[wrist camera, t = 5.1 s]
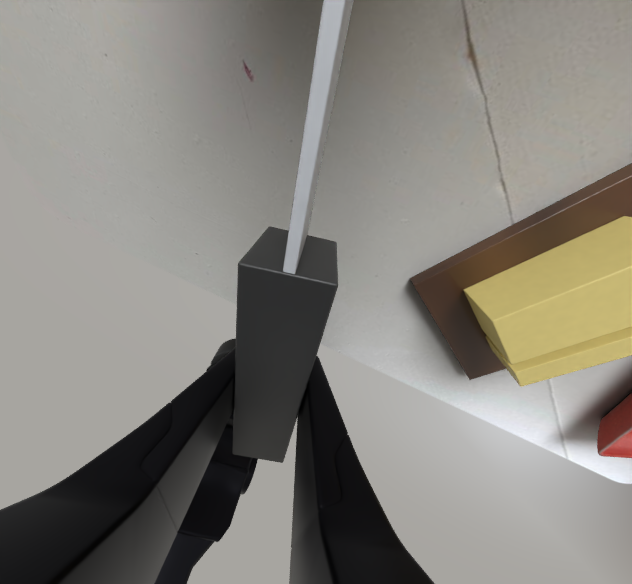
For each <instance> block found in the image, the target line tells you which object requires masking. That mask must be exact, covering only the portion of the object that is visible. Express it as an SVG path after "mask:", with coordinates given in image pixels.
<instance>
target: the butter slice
mask: <svg viewBox="0 0 632 584" xmlns="http://www.w3.org/2000/svg"><path fill="white" fill-rule="evenodd" d="M486 339H487V341H488V343H489V345H490V347H491V349H492V351H493V352H494V353H495V355H496V356H497V357H498V358H499V360H500V361H501V362H502V363H503V365H504V366H505V367H506V369H507V370H508V371H509V372H510V374H511V375H512V376H513V378H514V379H515V380H516V381H517V383H518V384H519V385H520V386H525V385H528V384H532V383H536V382H539V381H543V380H546V379H550V378H553V377H557V376H560V375H564V374H567V373H571V372H574V371H578V370H581V369H585V368H588V367H592V366H595V365H599V364H603V363H606V362H610V361H613V360H617V359H620V358H624V357H627V356H631V355H632V326H631V327H628V328H625V329H622V330H619V331H616V332H613V333H609V334H606V335H603V336H600V337H597V338H594V339H591V340H588V341H584V342H581V343H578V344H575V345H572V346H569V347H566V348H562V349H559V350H556V351H553V352H550V353H547V354H544V355H541V356H537V357H534V358H531V359H528V360H525V361H522V362H519V363H515V364H512V365H511V364H510V363H509V362H508V360H507V359H506V358H505V357H504V356H503V354H502V353H501V352H500V351H499V349H498V348H497V347H496V346H495V345H494V343H493V342H492V341H491V340H490V338H489V337H488V336H486Z"/></svg>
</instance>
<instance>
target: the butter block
mask: <svg viewBox="0 0 632 584" xmlns="http://www.w3.org/2000/svg"><path fill="white" fill-rule="evenodd" d="M464 293H465V295H466V297H467V299H468V301H469V303H470V305H471V307H472V309H473V312H474V314H475V316H476V318H477V320H478V322H479V324H480V326H481V328H482V330H483V331H484V332H485V334H486V335H487V336H488V337H489V338H490V340H491V341H492V342H493V343H494V345H495V346H496V347H497V348H498V349H499V351H500V352H501V353H502V354H503V356H504V357H505V358H506V359H507V360H508V362H509V363H510V364H511V365H512V364H515V363H519V362H522V361H525V360H528V359H531V358H534V357H537V356H541V355H544V354H547V353H550V352H553V351H556V350H559V349H562V348H566V347H569V346H572V345H575V344H578V343H581V342H584V341H588V340H591V339H594V338H597V337H600V336H603V335H606V334H609V333H613V332H616V331H619V330H622V329H625V328H628V327H631V326H632V217H628V216H623V217H621V218H618V219H616V220H614V221H612V222H610V223H607V224H605V225H603V226H601V227H599V228H597V229H594V230H592V231H590V232H588V233H586V234H583V235H581V236H579V237H577V238H575V239H573V240H570V241H568V242H566V243H564V244H562V245H560V246H557V247H555V248H553V249H551V250H549V251H546V252H544V253H542V254H540V255H538V256H536V257H533V258H531V259H529V260H527V261H525V262H522V263H520V264H518V265H516V266H514V267H512V268H509V269H507V270H505V271H503V272H501V273H499V274H496V275H494V276H492V277H490V278H488V279H485V280H483V281H481V282H479V283H477V284H475V285H472V286H470V287H468V288H466V289H464Z"/></svg>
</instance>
